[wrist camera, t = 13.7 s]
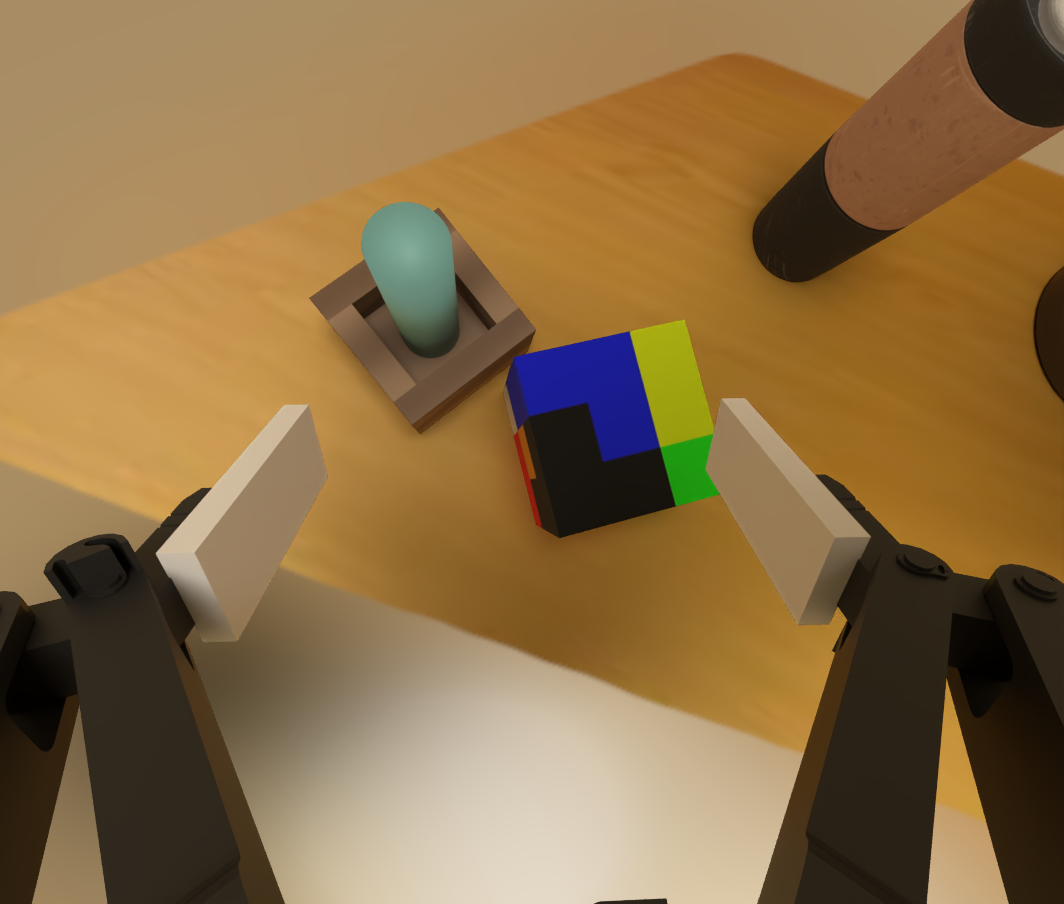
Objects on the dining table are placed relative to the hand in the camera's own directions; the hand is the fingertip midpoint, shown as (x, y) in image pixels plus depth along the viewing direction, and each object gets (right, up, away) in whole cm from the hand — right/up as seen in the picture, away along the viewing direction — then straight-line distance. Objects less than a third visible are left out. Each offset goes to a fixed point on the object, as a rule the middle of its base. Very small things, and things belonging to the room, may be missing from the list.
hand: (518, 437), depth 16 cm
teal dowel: (-7, +8, +18) cm, 21 cm away
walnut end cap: (-7, +8, +20) cm, 23 cm away
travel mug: (+22, +17, +24) cm, 36 cm away
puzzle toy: (+4, 0, +21) cm, 21 cm away
